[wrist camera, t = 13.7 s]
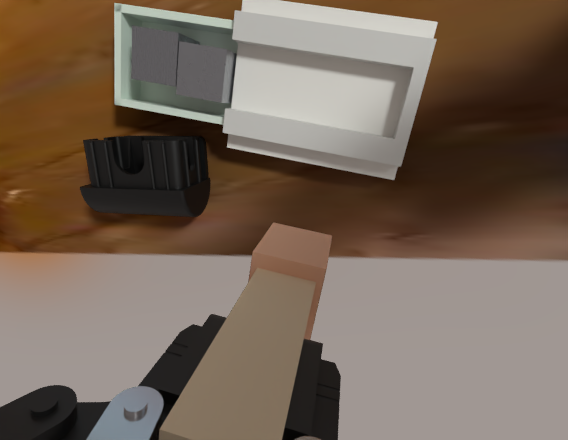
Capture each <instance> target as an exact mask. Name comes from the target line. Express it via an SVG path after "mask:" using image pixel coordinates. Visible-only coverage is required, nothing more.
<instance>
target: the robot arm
mask: <svg viewBox="0 0 568 440" xmlns="http://www.w3.org/2000/svg"><path fill="white" fill-rule="evenodd" d="M226 319H227V318H225V317H222V316H218V315H214V314H211V315H210V316H209V317H208V319H207V320H206V322H205V323H204V325H203V326H202V327H201V326H197V325H194V324H193V325H191V326H189V327H188V328H186V329H184V330H183V331H181V332H180V333H179V334H178V336H177V337H176V339H175V340H174V341H173V342H172V344H171V345H170V346H169V347H168V349H167V350H166V352H165V353H164V354H163V355H162V356H161V358H160V359H159V360H158V361H157V363H156V364H155V365H154V367H153V368H152V369H151V370H150V372H149V373H148V374H147V376H146V377H145V378H144V379H143V381H142V382H141V383H140V384H139V386H138V387H132V388H129V389H127V390H124V391H122V392H121V393H119V394H118V395H117V396H116V397H114V398H113V399H112V401H110V402H86V403H85V402H83V403H82V402H81V403H79V402H77V397H76V394H75V392H74V391H73V390H72V389H70V388H69V387H66V386H61V385H54V386H47V387H43V388H40V389H38V390H35V391H33V392H31V393H29V394H27V395H25V396H23V397H20V398H18V399H16V400H14V401H12V402H10V403H8V404H6V405H4V406H2V407H0V440H159V429H160V428H161V426H162V424H163V423H164V421H165V419H166V418H167V416H168V414H169V413H170V411H171V410H172V408H173V406H174V405H175V403H176V401H177V400H178V398H179V396H180V395H181V393H182V391H183V390H184V388H185V386H186V385H187V383H188V381H189V380H190V378H191V376H192V375H193V373H194V372H195V370H196V368H197V367H198V365H199V363H200V362H201V360H202V358H203V357H204V355H205V353H206V352H207V350H208V348H209V347H210V345H211V343H212V342H213V340H214V338H215V337H216V335H217V333H218V332H219V330H220V329H221V327H222V325H223V324H224V322H225V320H226ZM322 346H323V344H322V343H318V342H315V341H311V340H308V339H304V340H303V345H302V349H301V354H300V359H299V363H298V368H297V372H296V377H295V382H294V386H293V391H292V396H291V400H290V405H289V409H288V414H287V419H286V423H285V428H284V432H283V437H282V440H338V419H339V399H340V379H341V378H340V377H341V376H340V374H339V371H338V369H337V367H336V364H335V363H333V362H329V361H325V360H322V359H321V354H322Z"/></svg>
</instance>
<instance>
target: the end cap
mask: <svg viewBox="0 0 568 440" xmlns="http://www.w3.org/2000/svg"><path fill="white" fill-rule="evenodd" d="M83 143H84V148H85V153H86V159H87V164H88V170H89V175H90V181H91V184H89V185H85V186H82V187H80V190H81V194H82V196H83V198H84V200H85V201H86V203H87V204H88V205H89V206H90V207H91V208H92V209H94V210H95V211H98V212H104V213H124V214H145V215H165V216H185V217H197V216H199V215H200V214H201V213H202V212H203V211H204V209H205V207H206V205H207V202H208V199H209V194H210V178H208V162H207V149H206V141H205V139H204V138H203V137H202V136H124V137H107V138H104V140H98V139H88V140H83Z"/></svg>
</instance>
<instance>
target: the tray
mask: <svg viewBox="0 0 568 440" xmlns="http://www.w3.org/2000/svg"><path fill="white" fill-rule="evenodd" d="M114 4H115V105H120V106H125V107H131V108H136V109H141V110H147V111H152V112H157V113H163V114H168V115H173V116H179V117H184V118H189V119H195V120H200V121H205V122H211V123H216V124H221V125H223V124H224V115H225V108H231V105H232V103H219V102H214V101H209V100H204V99H198V98H193V97H188V96H182V95H177V94H176V87H175V86H169V85H164V84H158V83H152V82H147V81H141V80H135V79H131V61H132V26H139V27H145V28H151V29H158V30H164V31H171V32H177V33H180V34H182V35H185V36H187V37H189V38H191V39H194V40H196V41H198V42H200V45H205V46H211V47H217V48H223V49H228V50H230V51H232V52H234V53H236V54H237V49H238V43H237V42H236V41H234V40H232V36H233V26H234V20H227V19H220V18H214V17H207V16H200V15H193V14H186V13H180V12H173V11H166V10H159V9H152V8H146V7H139V6H132V5H125V4H118V3H114Z"/></svg>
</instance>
